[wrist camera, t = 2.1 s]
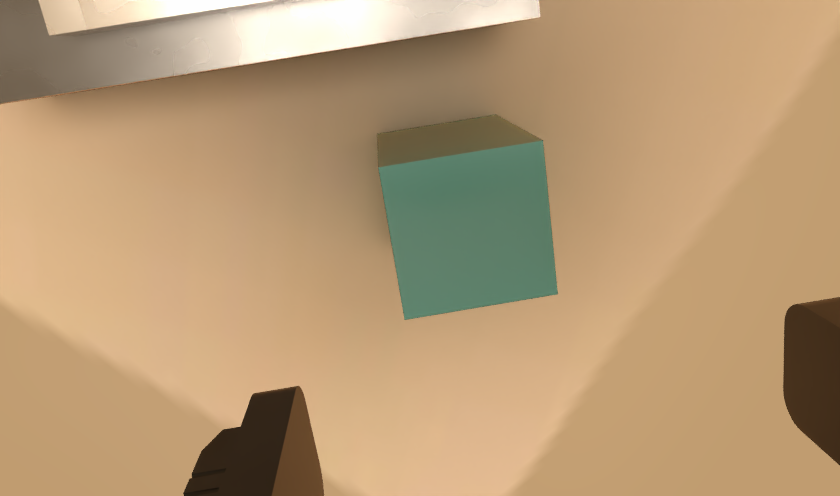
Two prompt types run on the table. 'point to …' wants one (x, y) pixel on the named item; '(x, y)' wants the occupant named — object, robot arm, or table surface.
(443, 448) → the table surface
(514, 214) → the block
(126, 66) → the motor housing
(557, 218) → the table surface
